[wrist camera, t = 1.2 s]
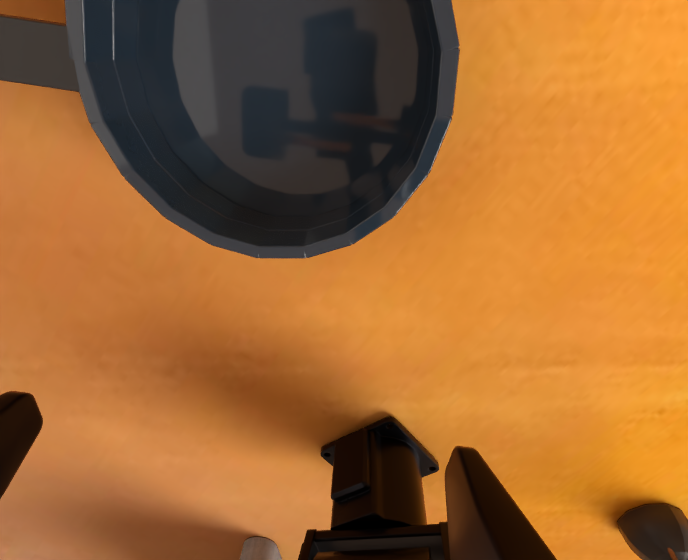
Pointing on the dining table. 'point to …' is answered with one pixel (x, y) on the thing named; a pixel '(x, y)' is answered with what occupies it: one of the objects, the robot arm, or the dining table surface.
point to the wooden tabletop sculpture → (656, 532)
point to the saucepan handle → (36, 53)
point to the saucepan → (269, 111)
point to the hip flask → (260, 549)
